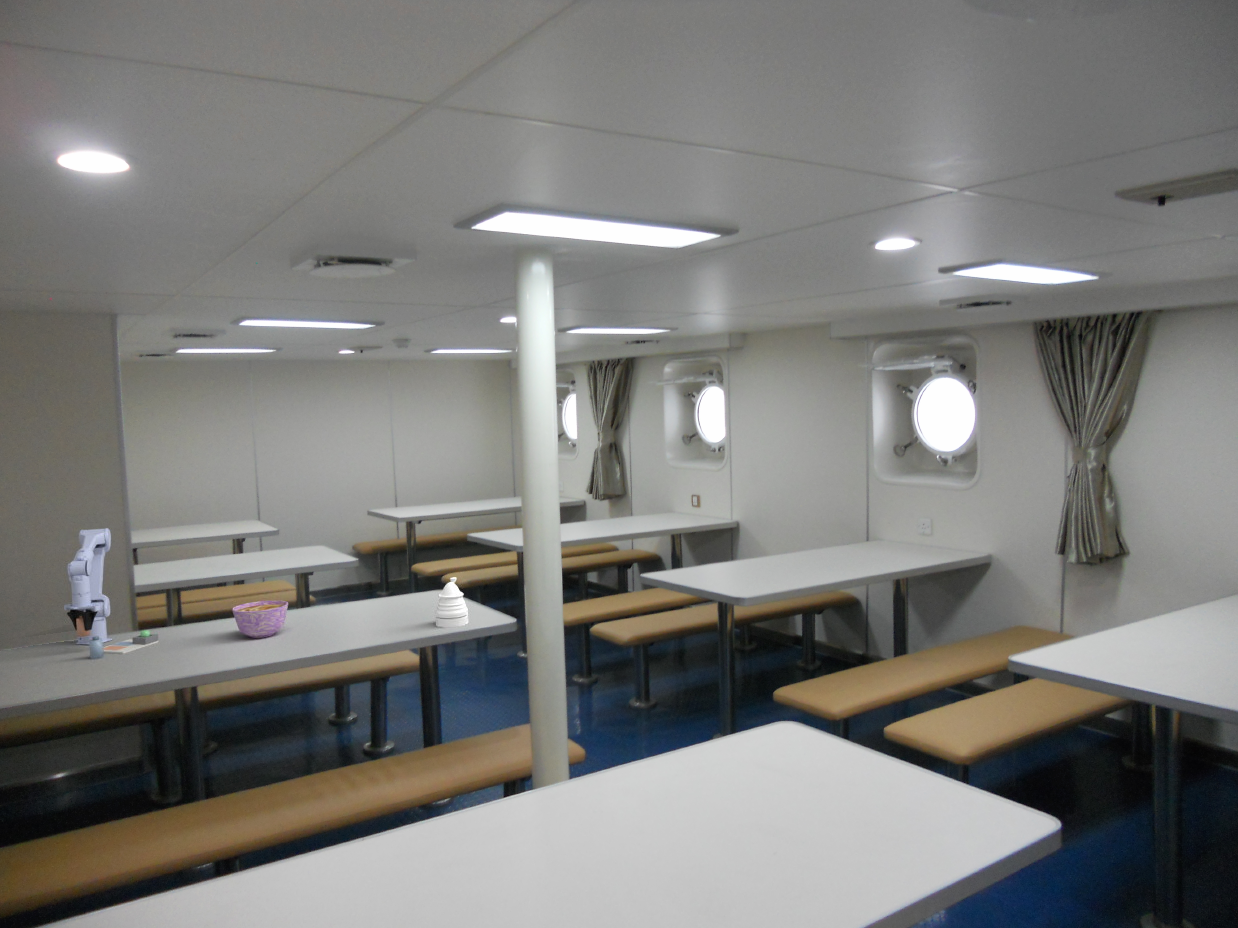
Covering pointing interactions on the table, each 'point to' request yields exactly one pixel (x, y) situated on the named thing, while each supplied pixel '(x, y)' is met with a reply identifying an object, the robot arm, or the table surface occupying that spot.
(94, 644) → the slate marker
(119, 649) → the picture board
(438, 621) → the honey pot
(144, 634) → the button
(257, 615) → the bowl of food
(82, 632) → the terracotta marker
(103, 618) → the robot arm
